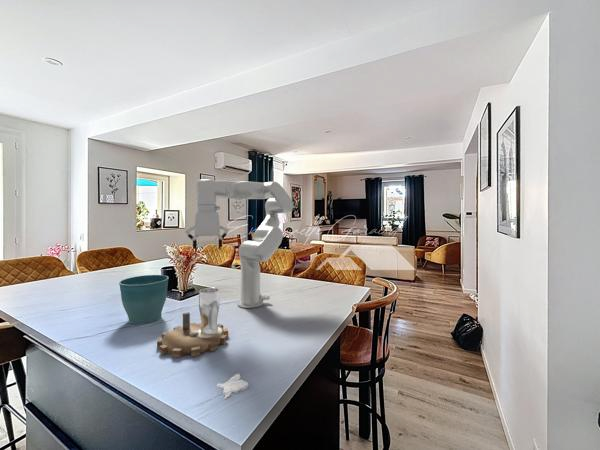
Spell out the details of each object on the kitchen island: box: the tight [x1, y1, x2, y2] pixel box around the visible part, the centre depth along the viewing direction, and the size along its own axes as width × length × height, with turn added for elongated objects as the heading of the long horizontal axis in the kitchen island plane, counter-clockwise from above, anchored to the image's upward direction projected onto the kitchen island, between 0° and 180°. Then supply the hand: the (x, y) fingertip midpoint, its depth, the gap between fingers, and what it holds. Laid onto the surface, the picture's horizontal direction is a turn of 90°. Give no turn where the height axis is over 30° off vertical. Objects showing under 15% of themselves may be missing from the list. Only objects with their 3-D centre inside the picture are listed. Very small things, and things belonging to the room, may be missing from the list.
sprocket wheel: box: [156, 311, 229, 358], centre depth 94 cm, size 23×23×8 cm
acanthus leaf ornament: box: [215, 372, 249, 400], centre depth 69 cm, size 8×7×2 cm
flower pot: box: [118, 274, 169, 325], centre depth 114 cm, size 18×18×17 cm
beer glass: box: [198, 287, 221, 336], centre depth 96 cm, size 7×7×15 cm
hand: (207, 249), depth 115 cm, fingers open, 9 cm apart
